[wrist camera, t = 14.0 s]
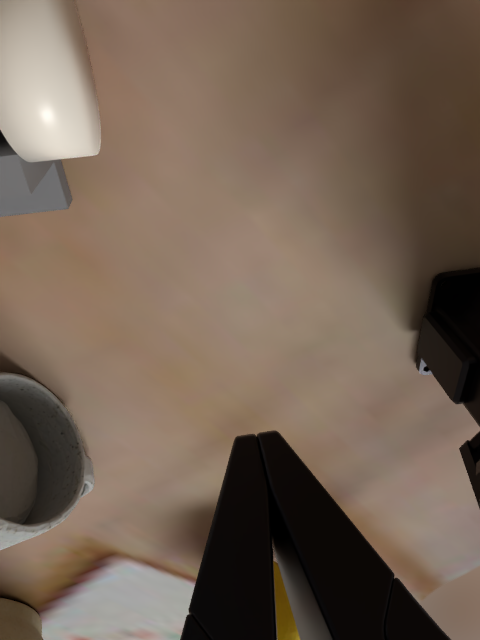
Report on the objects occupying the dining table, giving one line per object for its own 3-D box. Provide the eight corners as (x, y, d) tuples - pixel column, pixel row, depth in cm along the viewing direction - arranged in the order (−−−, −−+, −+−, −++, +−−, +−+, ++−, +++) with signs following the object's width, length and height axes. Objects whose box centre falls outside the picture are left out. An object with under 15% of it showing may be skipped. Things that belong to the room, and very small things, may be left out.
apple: (282, 532, 35) (308, 654, 29) (295, 571, 39) (321, 687, 32) (201, 553, 35) (209, 678, 29) (222, 590, 39) (233, 708, 32)
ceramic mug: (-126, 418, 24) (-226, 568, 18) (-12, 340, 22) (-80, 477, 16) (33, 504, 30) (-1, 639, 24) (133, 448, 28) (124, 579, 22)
